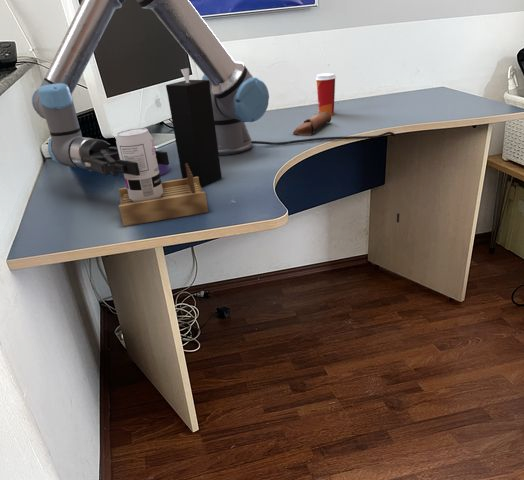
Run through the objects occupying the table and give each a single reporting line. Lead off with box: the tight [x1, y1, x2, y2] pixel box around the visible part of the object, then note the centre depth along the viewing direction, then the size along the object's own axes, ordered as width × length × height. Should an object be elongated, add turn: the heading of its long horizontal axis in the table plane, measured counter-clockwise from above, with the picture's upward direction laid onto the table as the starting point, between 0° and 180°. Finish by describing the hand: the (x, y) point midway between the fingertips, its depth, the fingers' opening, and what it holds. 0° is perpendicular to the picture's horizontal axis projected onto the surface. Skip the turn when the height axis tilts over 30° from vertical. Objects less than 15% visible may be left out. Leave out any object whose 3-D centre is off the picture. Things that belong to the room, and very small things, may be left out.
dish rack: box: [118, 163, 209, 227], centre depth 126 cm, size 20×14×9 cm
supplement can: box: [115, 127, 163, 202], centre depth 122 cm, size 8×8×15 cm
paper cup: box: [315, 72, 337, 116], centre depth 200 cm, size 8×8×14 cm
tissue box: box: [165, 67, 223, 187], centre depth 138 cm, size 8×8×28 cm
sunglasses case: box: [292, 112, 332, 136], centre depth 185 cm, size 18×7×7 cm, turn 155°
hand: (152, 163), depth 119 cm, fingers closed on supplement can, 8 cm apart
